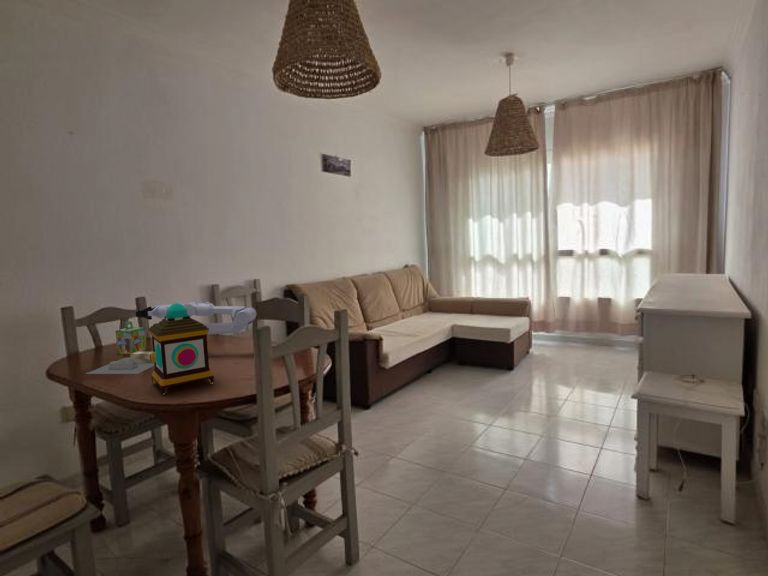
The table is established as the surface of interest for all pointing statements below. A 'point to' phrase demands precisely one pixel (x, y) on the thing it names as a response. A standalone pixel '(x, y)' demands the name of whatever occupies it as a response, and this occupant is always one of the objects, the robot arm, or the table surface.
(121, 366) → the fulcrum
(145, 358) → the beam
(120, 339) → the chalk box
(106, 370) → the mat
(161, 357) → the decorative lantern
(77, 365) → the table surface
